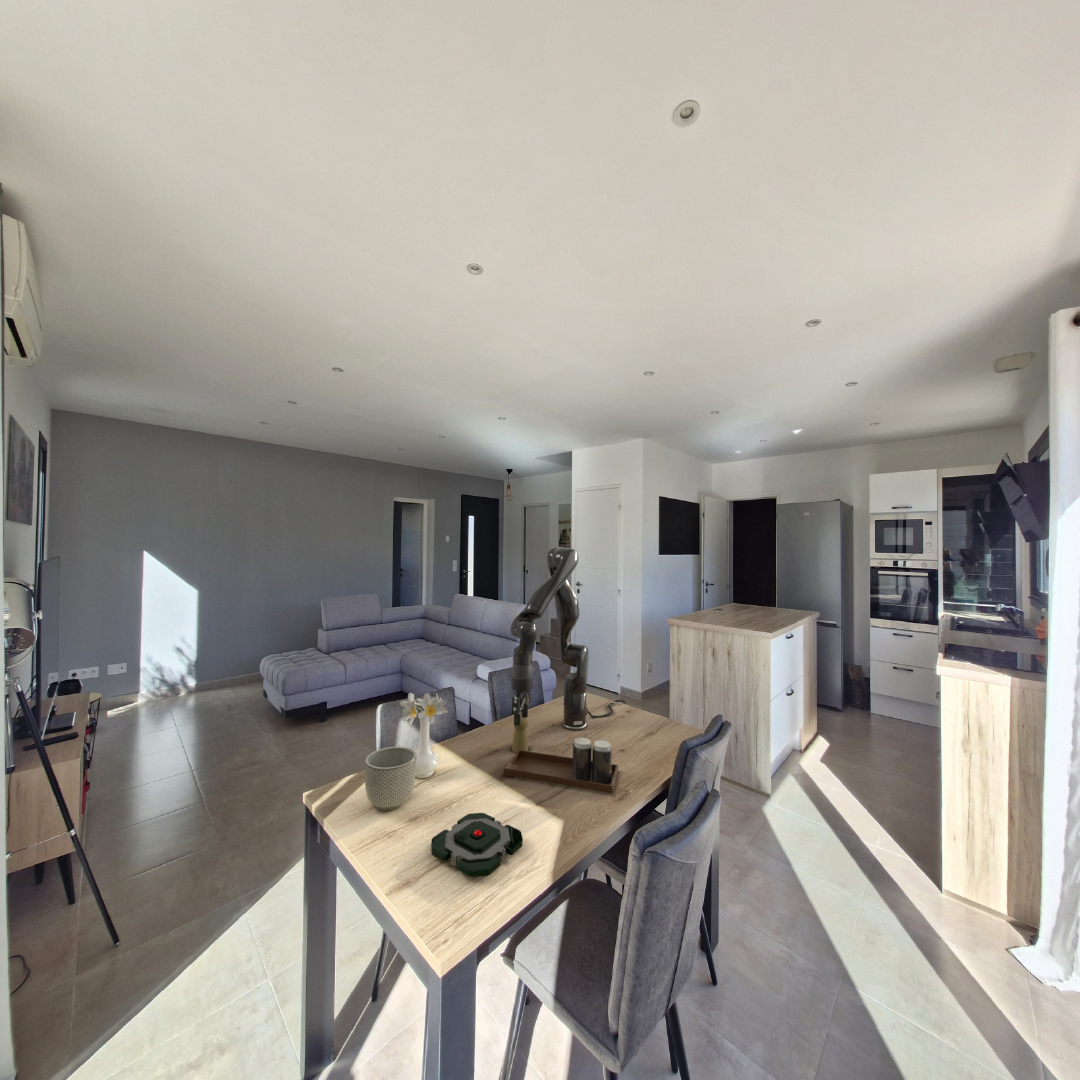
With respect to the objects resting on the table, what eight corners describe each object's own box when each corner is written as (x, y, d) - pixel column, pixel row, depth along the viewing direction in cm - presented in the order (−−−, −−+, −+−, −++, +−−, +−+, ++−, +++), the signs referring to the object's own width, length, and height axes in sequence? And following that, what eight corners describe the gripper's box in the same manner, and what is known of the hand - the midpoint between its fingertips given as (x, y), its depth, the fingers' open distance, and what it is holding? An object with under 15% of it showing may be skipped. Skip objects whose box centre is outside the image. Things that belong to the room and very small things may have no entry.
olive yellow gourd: (529, 746, 165) (530, 715, 165) (527, 753, 159) (528, 721, 159) (513, 744, 166) (513, 714, 166) (510, 752, 160) (511, 720, 160)
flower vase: (417, 757, 154) (419, 683, 154) (456, 773, 144) (458, 694, 144) (385, 772, 143) (387, 693, 144) (425, 791, 133) (427, 705, 133)
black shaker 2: (593, 773, 145) (594, 738, 145) (612, 776, 143) (613, 741, 143) (590, 782, 139) (591, 746, 139) (609, 785, 137) (610, 749, 138)
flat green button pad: (475, 818, 120) (475, 800, 120) (529, 844, 110) (530, 825, 110) (422, 854, 105) (422, 834, 105) (479, 889, 95) (480, 867, 95)
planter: (425, 804, 126) (426, 757, 126) (377, 825, 116) (378, 774, 116) (400, 785, 136) (401, 742, 136) (354, 803, 126) (356, 756, 126)
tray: (518, 756, 156) (518, 749, 156) (617, 772, 147) (618, 764, 147) (503, 776, 143) (503, 768, 143) (612, 794, 133) (612, 786, 133)
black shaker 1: (574, 770, 147) (575, 736, 147) (592, 773, 145) (593, 738, 145) (570, 779, 141) (571, 743, 141) (589, 782, 139) (590, 746, 139)
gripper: (526, 681, 155) (524, 729, 155) (537, 672, 169) (536, 715, 168) (505, 679, 157) (504, 726, 157) (518, 670, 171) (517, 713, 170)
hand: (520, 721), depth 162 cm, fingers open, 8 cm apart
